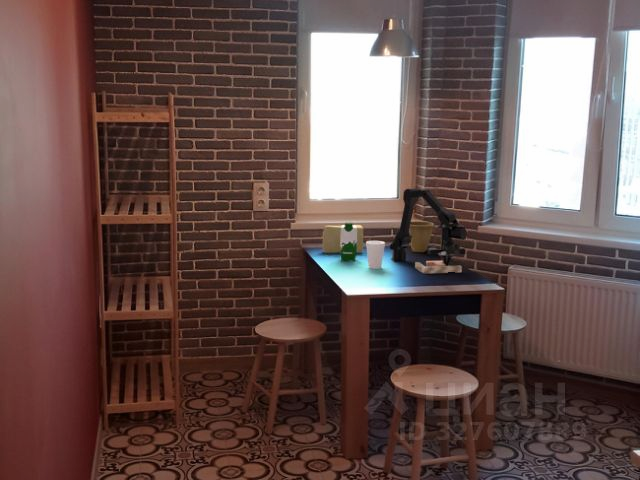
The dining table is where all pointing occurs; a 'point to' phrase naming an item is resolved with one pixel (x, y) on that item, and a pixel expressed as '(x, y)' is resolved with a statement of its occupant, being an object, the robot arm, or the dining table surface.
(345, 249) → the milk carton
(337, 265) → the dining table surface
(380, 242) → the foam cup
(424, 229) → the plant pot
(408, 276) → the dining table surface
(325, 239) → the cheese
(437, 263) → the t block
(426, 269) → the wooden l block
